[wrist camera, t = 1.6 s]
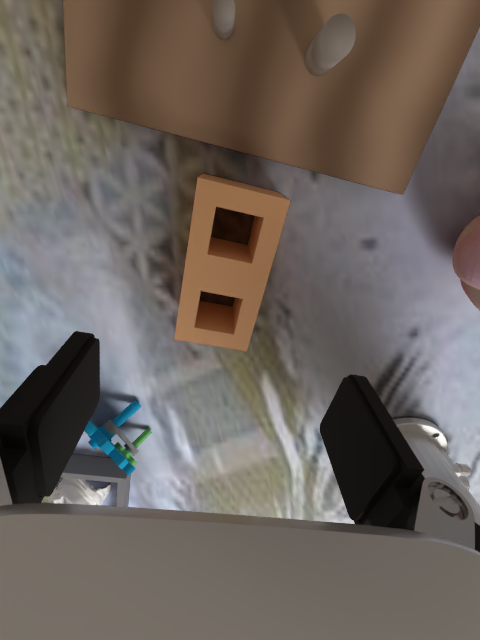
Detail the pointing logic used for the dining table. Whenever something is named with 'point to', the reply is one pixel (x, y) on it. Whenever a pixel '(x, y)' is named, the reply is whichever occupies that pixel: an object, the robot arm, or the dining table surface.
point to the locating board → (276, 75)
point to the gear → (103, 441)
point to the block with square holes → (228, 263)
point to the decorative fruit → (469, 260)
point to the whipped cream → (79, 492)
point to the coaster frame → (99, 474)
